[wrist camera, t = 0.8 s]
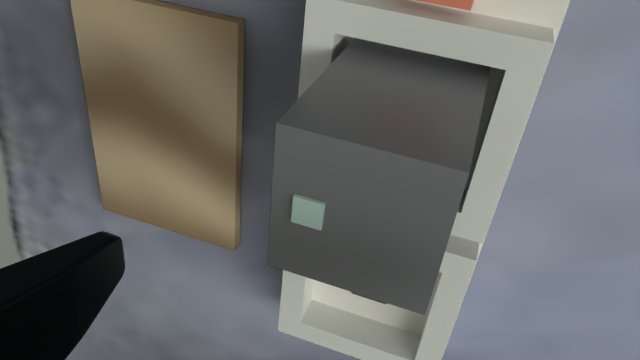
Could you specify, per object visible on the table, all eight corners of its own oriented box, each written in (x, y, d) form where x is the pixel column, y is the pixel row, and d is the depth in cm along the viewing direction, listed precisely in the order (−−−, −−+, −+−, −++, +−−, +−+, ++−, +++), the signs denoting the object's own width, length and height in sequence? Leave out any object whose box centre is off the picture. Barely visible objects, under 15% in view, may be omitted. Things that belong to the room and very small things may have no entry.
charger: (457, 178, 19) (424, 318, 14) (341, 148, 20) (265, 267, 15) (491, 63, 17) (469, 175, 11) (357, 34, 18) (274, 125, 12)
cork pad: (239, 244, 28) (234, 250, 28) (110, 202, 30) (103, 208, 30) (244, 19, 22) (238, 23, 21) (77, -17, 23) (68, -14, 23)
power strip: (440, 344, 27) (427, 411, 24) (301, 298, 29) (271, 355, 26) (578, -53, 17) (588, -28, 13) (346, -90, 18) (306, -76, 15)
